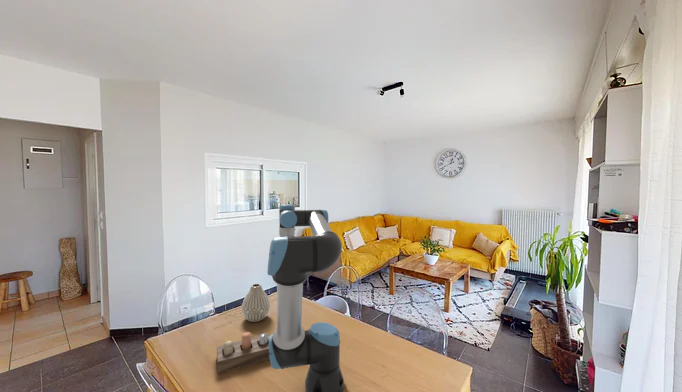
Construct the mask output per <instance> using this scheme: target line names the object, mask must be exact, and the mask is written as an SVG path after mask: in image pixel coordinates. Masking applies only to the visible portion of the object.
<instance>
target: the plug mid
mask: <svg viewBox="0 0 682 392" xmlns="http://www.w3.org/2000/svg"><path fill="white" fill-rule="evenodd" d="M251 338H252V333H251V332H249V331H247V332H243V333H242V334H241V340H242V351H243V350H247V349H251Z"/></svg>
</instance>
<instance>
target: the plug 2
mask: <svg viewBox="0 0 682 392" xmlns="http://www.w3.org/2000/svg"><path fill="white" fill-rule="evenodd" d="M268 334H269V333H266V332H262V333H260V334H258V336H259V346H262V345H266V344H268Z"/></svg>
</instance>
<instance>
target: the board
mask: <svg viewBox="0 0 682 392" xmlns="http://www.w3.org/2000/svg"><path fill="white" fill-rule="evenodd" d="M267 334H268V344H266V345H262V346H259V335H258V336H255V337H251V349H247V350H243V351H242V339H241V340H237V341H233V353H231V354H227V355H224V344H221V345H220V344H219V345H217V346H216V363H217V374H221V373H224V372H225V373H226V372H227V371H231V370H234V369H235V370H236V369H238V368H242V367H246V366H250V365H253V364H257V363H261V362H264V361H268V360H270V357H269V337H270V335H272V334H271V333H267Z"/></svg>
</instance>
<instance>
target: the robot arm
mask: <svg viewBox="0 0 682 392" xmlns="http://www.w3.org/2000/svg"><path fill="white" fill-rule="evenodd" d="M295 208H296V206H295V205H294V204H280V205H279V210H278V211H279V217H278V218H279V226H278V227H279V228H278V229H279V230H278V233H279V234H278V235H279V236H278V237H274V238H273V239H272V240H271V242H270V246H269V253H268V261H267V271H266V272H267V275H268V276H270V277H271V276H272V277H271V278H272V280H273V281H274V283H276V327H275V329H274V331H273V333H272V334H271V335H270V337H269V357H270V359H269V362H270V365H271V368H272V369H274V370H283V369H289V368H295V367H303V366H309V368H308V371H307V373H306V377H305V380H304V389H305V392H343V391H344V387H345V383H344V382H345V381H344V380H345V379H344V376H343V373H342V369H341V367H340V358H341V357H340V351H341V350H340V348H341V346H340V344H341V340H340V339H341V338H340V337H341V336H340V331H339V329H338V328H337V327H336V326H335V325H334V324H331V323H328V322H321V321H319V322H315V323H312V324H311V325H310V327H309V329H307V330H305V328H304V327H303V326H302V316H303V315H302V314H303V312H302V311H303V291H304V290H303V289H304V288H303V287H304V283H305V282H306V281H307V279H308V277H309V274H311V273H322V272H325V271H327V270H329V269H331V267H333V266H335V264H336V263H337V262H338V260H339V259H340V257H341V254H342V252H343V245H342V241H341V238H340V237H339V236H338V234H337V233H336V232H334V231H333V230H332V229H331V227H330V225H329V212H328V210H327V209H304V210H303V209H295ZM297 227H310V228H309V229H310V230H311V231H310V232H311V234H312V235H304V236H295V235H296V228H297Z"/></svg>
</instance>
